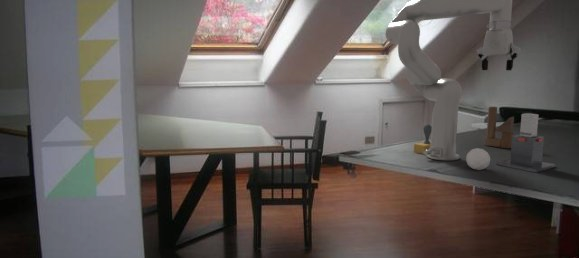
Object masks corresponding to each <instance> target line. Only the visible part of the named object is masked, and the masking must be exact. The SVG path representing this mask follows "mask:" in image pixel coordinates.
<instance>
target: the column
mask: <svg viewBox="0 0 579 258" xmlns="http://www.w3.org/2000/svg"><path fill="white" fill-rule="evenodd" d="M539 117H540V116H539V114H537V113H530V112H529V113H522V114H521V119H520V131H519V135H520V137H526V138H537V136H538V127H539V126H538V125H539V124H538V123H539Z"/></svg>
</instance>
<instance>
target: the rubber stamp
mask: <svg viewBox="0 0 579 258" xmlns="http://www.w3.org/2000/svg"><path fill="white" fill-rule="evenodd" d="M431 129H432V125H430V124H425V125H424V126H423V134H424V137H425V139H424V141H423V142H422V141H421V142H418V143H417V142H416V143H414V144H413V153H417V154H421V155H424V153H423V151H424V150H429V147H430V146H431V141H430V139H429V138H430V137H431Z"/></svg>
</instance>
